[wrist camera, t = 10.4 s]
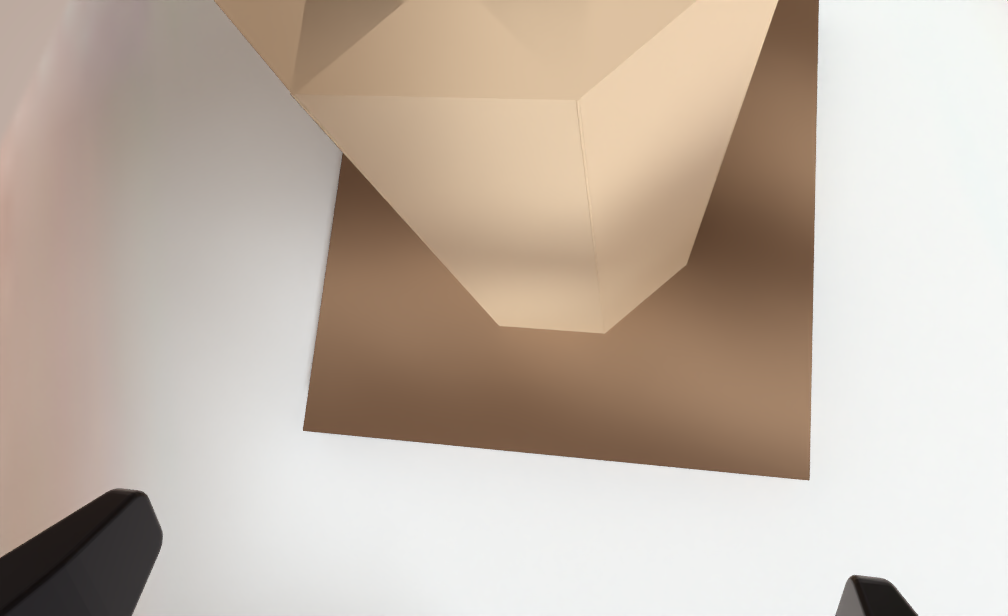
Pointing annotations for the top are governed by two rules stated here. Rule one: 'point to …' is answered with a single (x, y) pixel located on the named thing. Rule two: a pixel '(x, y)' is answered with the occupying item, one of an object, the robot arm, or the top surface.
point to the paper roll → (528, 131)
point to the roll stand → (621, 350)
